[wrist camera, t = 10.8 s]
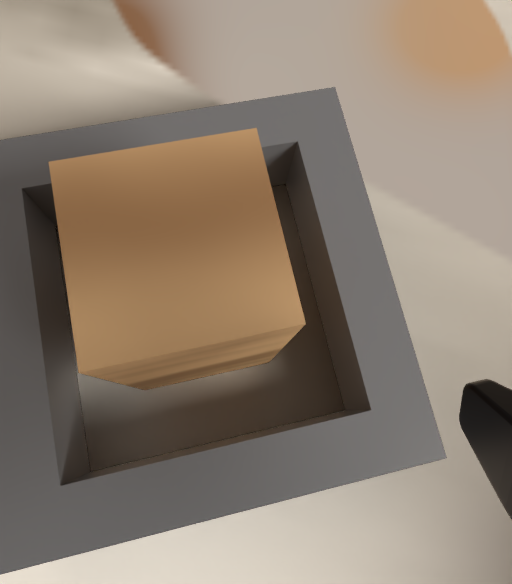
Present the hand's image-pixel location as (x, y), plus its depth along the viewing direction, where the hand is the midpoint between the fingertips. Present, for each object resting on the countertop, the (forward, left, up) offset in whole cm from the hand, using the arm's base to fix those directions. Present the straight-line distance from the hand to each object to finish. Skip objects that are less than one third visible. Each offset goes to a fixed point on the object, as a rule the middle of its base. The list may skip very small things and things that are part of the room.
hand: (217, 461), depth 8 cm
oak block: (+5, +1, -11) cm, 12 cm away
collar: (+5, +1, -11) cm, 12 cm away
